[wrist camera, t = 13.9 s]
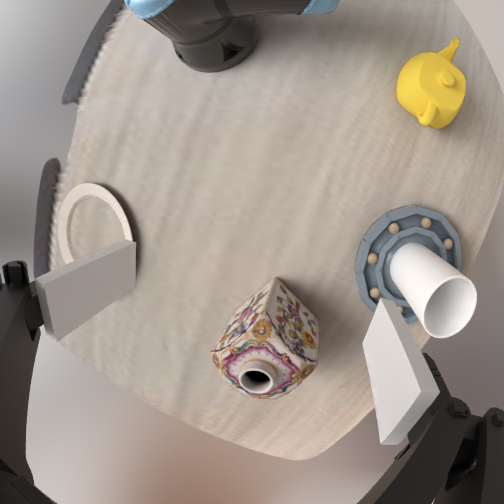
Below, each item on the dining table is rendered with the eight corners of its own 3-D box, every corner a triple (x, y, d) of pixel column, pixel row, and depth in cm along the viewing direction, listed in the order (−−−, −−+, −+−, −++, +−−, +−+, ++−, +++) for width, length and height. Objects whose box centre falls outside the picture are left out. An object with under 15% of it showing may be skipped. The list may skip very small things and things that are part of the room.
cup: (433, 241, 38) (481, 273, 23) (429, 286, 40) (469, 333, 25) (390, 243, 40) (427, 279, 25) (388, 290, 42) (417, 342, 27)
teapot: (409, 42, 30) (428, 15, 20) (459, 76, 29) (487, 59, 19) (378, 115, 36) (397, 98, 26) (432, 151, 35) (463, 146, 25)
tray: (371, 192, 39) (374, 193, 37) (467, 222, 36) (474, 225, 34) (341, 305, 45) (342, 312, 43) (433, 322, 42) (437, 329, 40)
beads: (378, 203, 38) (381, 204, 37) (463, 229, 36) (468, 231, 34) (351, 303, 44) (352, 308, 42) (432, 318, 41) (436, 323, 39)
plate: (100, 308, 59) (95, 311, 57) (52, 226, 57) (46, 228, 55) (160, 256, 51) (155, 259, 49) (99, 158, 48) (92, 158, 46)
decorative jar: (274, 352, 51) (255, 420, 34) (231, 312, 50) (195, 372, 34) (321, 318, 47) (321, 386, 30) (277, 273, 46) (256, 328, 30)
